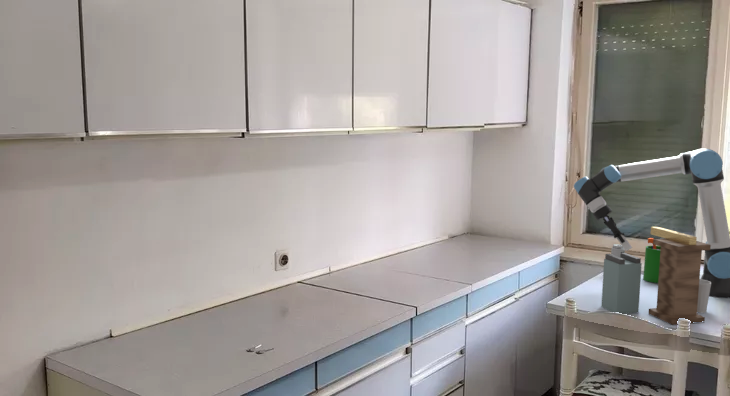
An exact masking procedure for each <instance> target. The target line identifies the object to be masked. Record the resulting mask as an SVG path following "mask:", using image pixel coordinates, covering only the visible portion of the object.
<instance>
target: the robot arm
mask: <svg viewBox="0 0 730 396" xmlns="http://www.w3.org/2000/svg"><path fill="white" fill-rule="evenodd" d="M676 174H683V175H684V176H686V175H691V179H692V180H691V181H692V184H693V186H694V185H695V186H696V187H697V190H698V196H699V202H700V208H701V214H702V220H703V225H704V230H705V236H706V241H705V243H706V244H709V245H711V247H710V250H704V258H703V271H702V275H701V277H700V279H703V280H707V281H710V282H711V287H710V293H709V296H712V297H719V298H730V229H729V226H728V225H729V224H728V219H727V213H726V206H725V201H724V195H723V189H722V183H723V181H724V180H725V176H724V170H723V159H722V157H721V155H720V154H719V153H718V152H717V151H715V150H713V149H711V148H706V147H703V148H702V147H701V148H698V149H695V150H692V151H687V152H681V153H680V154H679V155H677V156H670V157H663V158H658V159H650V160H645V161H637V162H632V163H627V164H626V163H625V164H620V165H614V164H610V165H608V166H604V167H602V168H601V169H600V171H598V172H597V173H596V174H594V175H593V176H592V177H590V178H589V177H588V176H583V177H582V178H580V179H578V180H577V181H576V182H574V184H573V188H574V189H575V191H576V193H577V195H578V196H579V197H580V199H582V201H583V203H584V204H585V205H586V206H587V210H590V213H592V214H593V216H594V218H595V220H597V221H601V220H603V223H604V225H606V227H607V228H608V229H609V230H611V232H612V234H613V238H614V239H616V240H617V241H618V242H619V244H620V245H622V246H623V248H624V249H625V252H627V251H630V250H631V249H632V248H633V247H632V245H631V243H629V241H628V239H626V237H625V233H624V232H621V230H620V228H619V227H617V223H616V222H615V220H614V218H613V217H612V216H611V217H610V214H611V213H612V212H613V210H612V208H611V207H610V206H609V205H608V204H607V202H606V200H605V199H604V198H603V196H602V195H601V192H603V191H604V190H606V189H607V188H609V187H610V186H612V185H614V184H615V183H621V182H626V181H635V180H641V179H648V178H654V177H662V176H669V175H676Z"/></svg>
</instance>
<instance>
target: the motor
mask: <svg viewBox="0 0 730 396" xmlns="http://www.w3.org/2000/svg"><path fill="white" fill-rule="evenodd" d="M653 239H654V238H653V237H649V238H648V237H647V243H648V244H652V245H646V246H645V251H644V264H643V278H642V279H643V280H644V281H645V282H647V283H653V284H658V279H659V265H660V250H661V246H657V245H654V244H653Z"/></svg>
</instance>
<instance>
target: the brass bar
mask: <svg viewBox="0 0 730 396" xmlns="http://www.w3.org/2000/svg"><path fill="white" fill-rule="evenodd" d="M650 235H652V236H656V237H659V238H661V239H669V240H672V241H676V242H679V243H683V244H686V245H696V241H698V240H697V239H698V238H697V236H695V235H690V234H687V233H683V232H679V231H676V230H673V229H667V228H665V227H659V226H651V227H650Z"/></svg>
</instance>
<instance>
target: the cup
mask: <svg viewBox="0 0 730 396" xmlns="http://www.w3.org/2000/svg"><path fill="white" fill-rule="evenodd" d="M710 287H711V282H710V281H707V280H703V279H701V278H700V279H699V292H698V305H697V312H700V313H699V314H706V313H707V311H708V306H709V305H708V304H709V298H710V295H709V293H710ZM705 312H706V313H705Z"/></svg>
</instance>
